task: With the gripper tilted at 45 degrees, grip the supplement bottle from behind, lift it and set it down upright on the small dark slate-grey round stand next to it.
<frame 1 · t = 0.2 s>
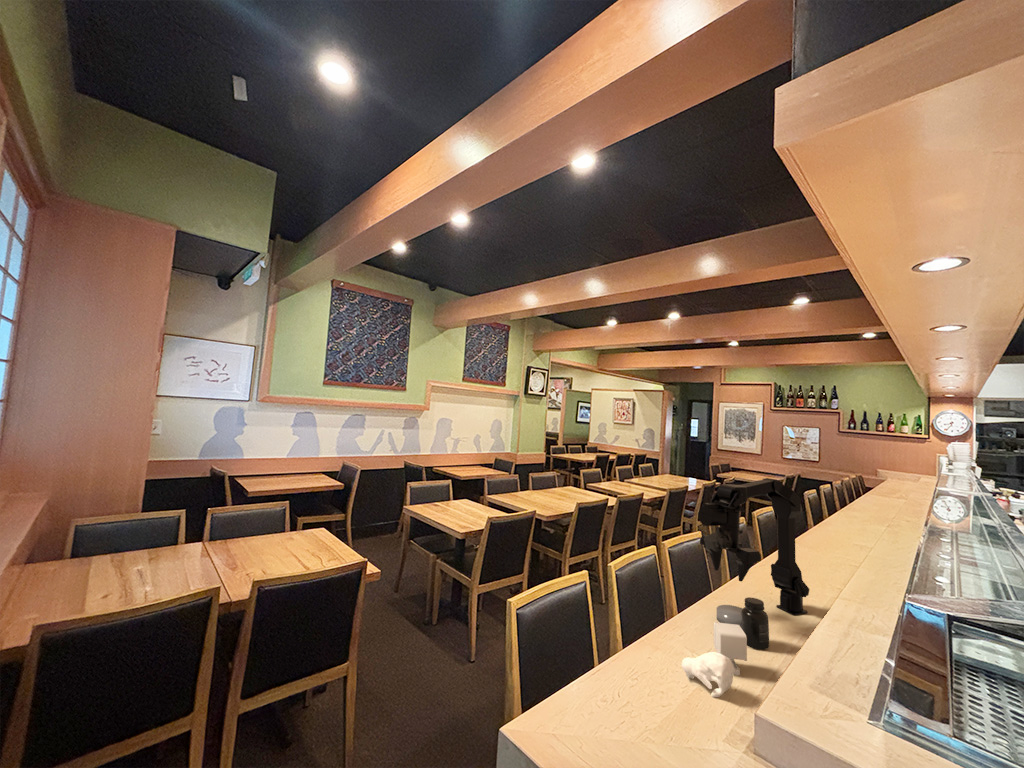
hand: (728, 575, 133), 14 cm above the worktop, tool pointing down, fingers open, 9 cm apart
white toy: (705, 686, 100), on the worktop
stand: (734, 621, 133), on the worktop
supplement bottle: (755, 644, 120), on the worktop
security camera: (728, 669, 108), on the worktop
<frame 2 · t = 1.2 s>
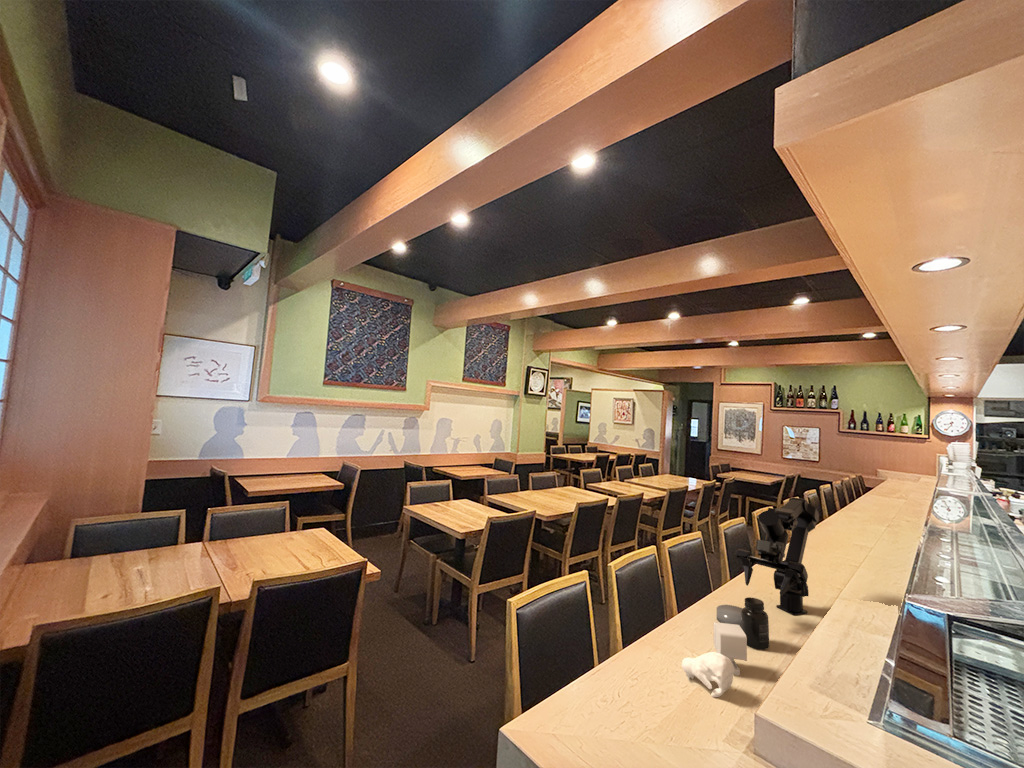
hand: (763, 589, 126), 13 cm above the worktop, tool tilted 45°, fingers open, 9 cm apart
nothing on the worktop moved.
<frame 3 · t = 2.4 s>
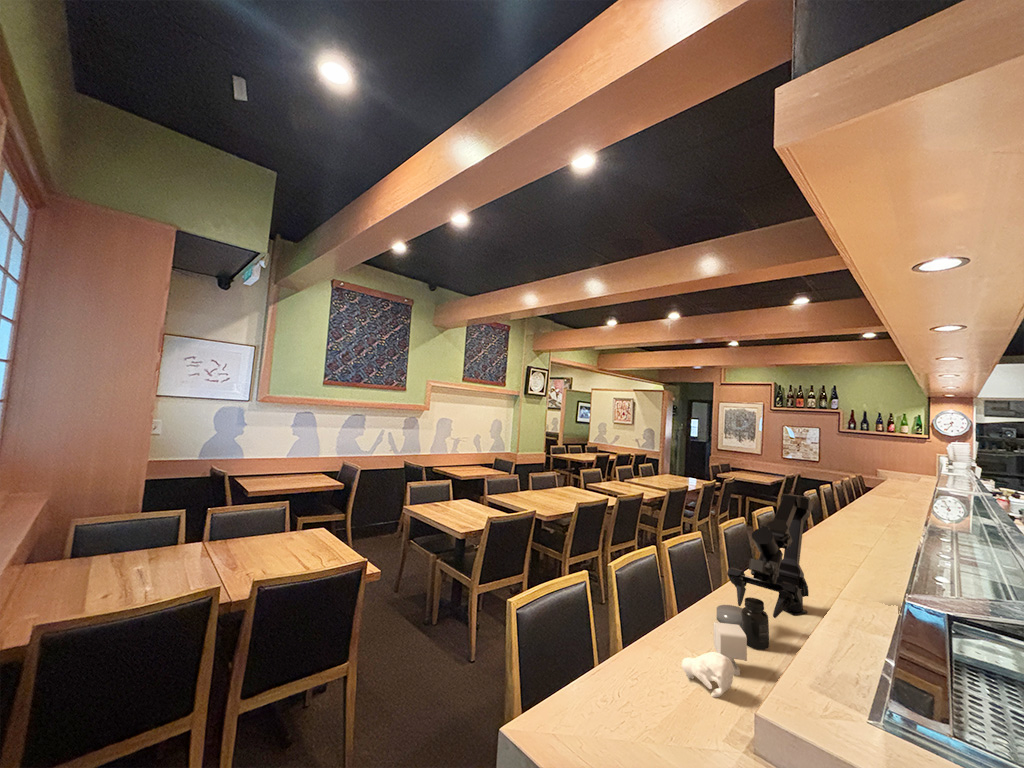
hand: (756, 611, 121), 9 cm above the worktop, tool tilted 45°, fingers open, 9 cm apart
nothing on the worktop moved.
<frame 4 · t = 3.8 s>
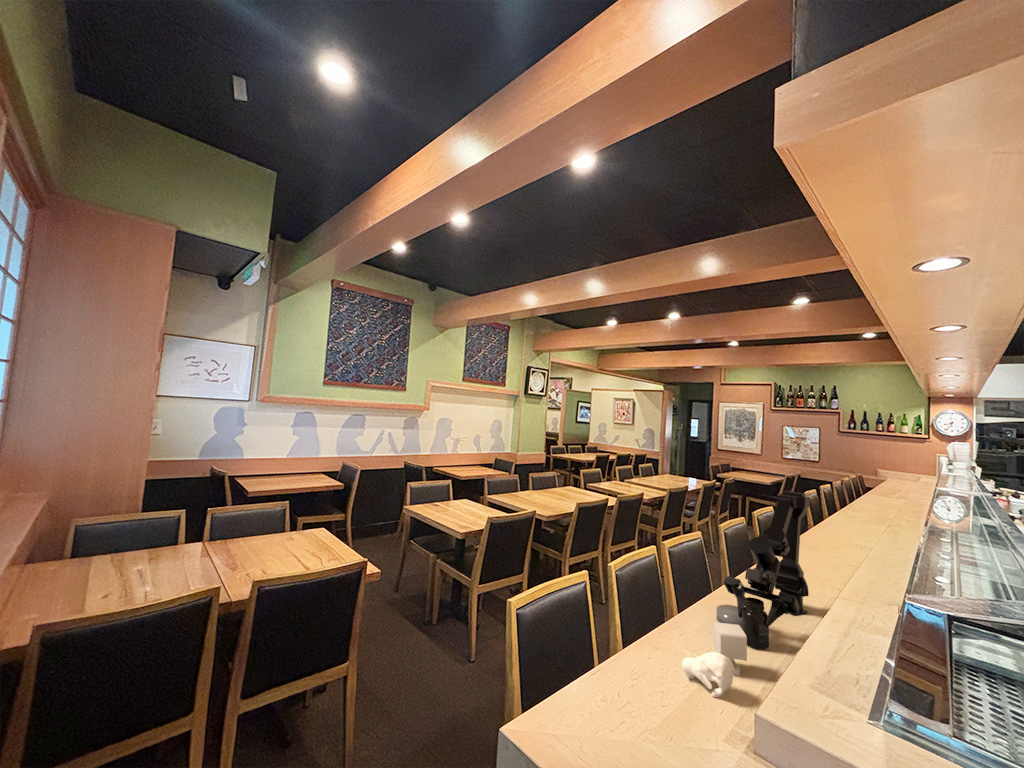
hand: (752, 621, 119), 7 cm above the worktop, tool tilted 45°, fingers closed on supplement bottle, 7 cm apart
supplement bottle: (755, 644, 120), on the worktop, touching gripper
everything else where it was.
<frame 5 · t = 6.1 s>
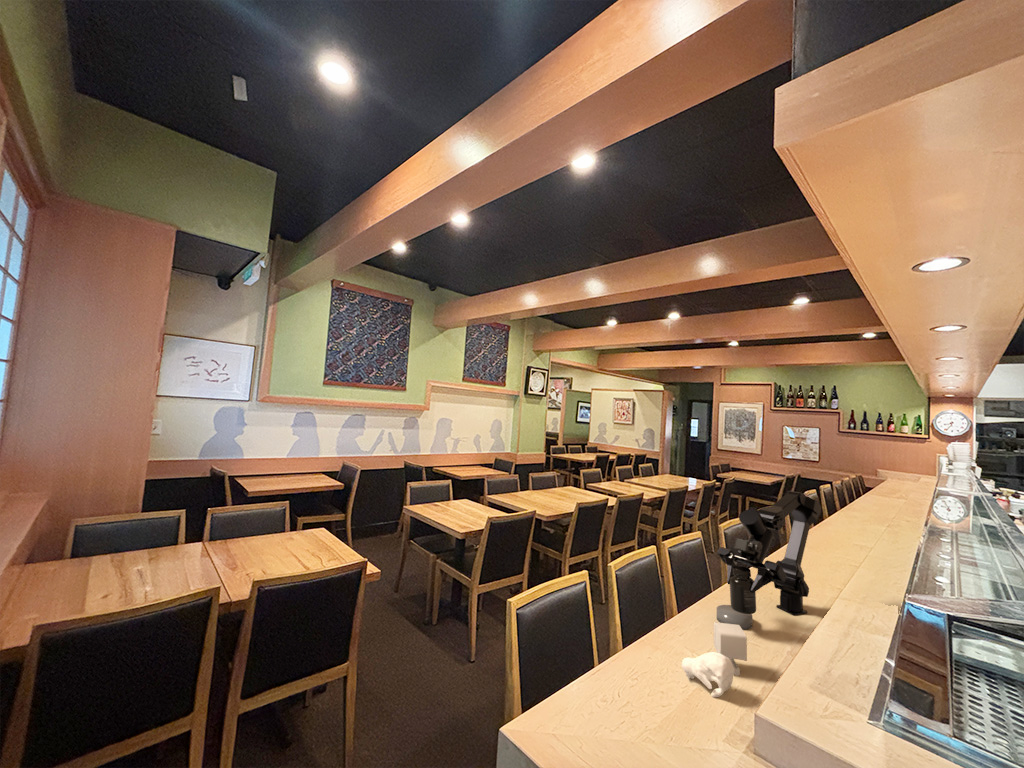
hand: (739, 587, 126), 13 cm above the worktop, tool tilted 45°, fingers closed on supplement bottle, 7 cm apart
supplement bottle: (743, 610, 127), point 6 cm above the worktop, touching gripper
everything else where it was.
when the fingers open (11 cm above the worktop, at t = 8.2 s): supplement bottle drops 1 cm, resting on stand.
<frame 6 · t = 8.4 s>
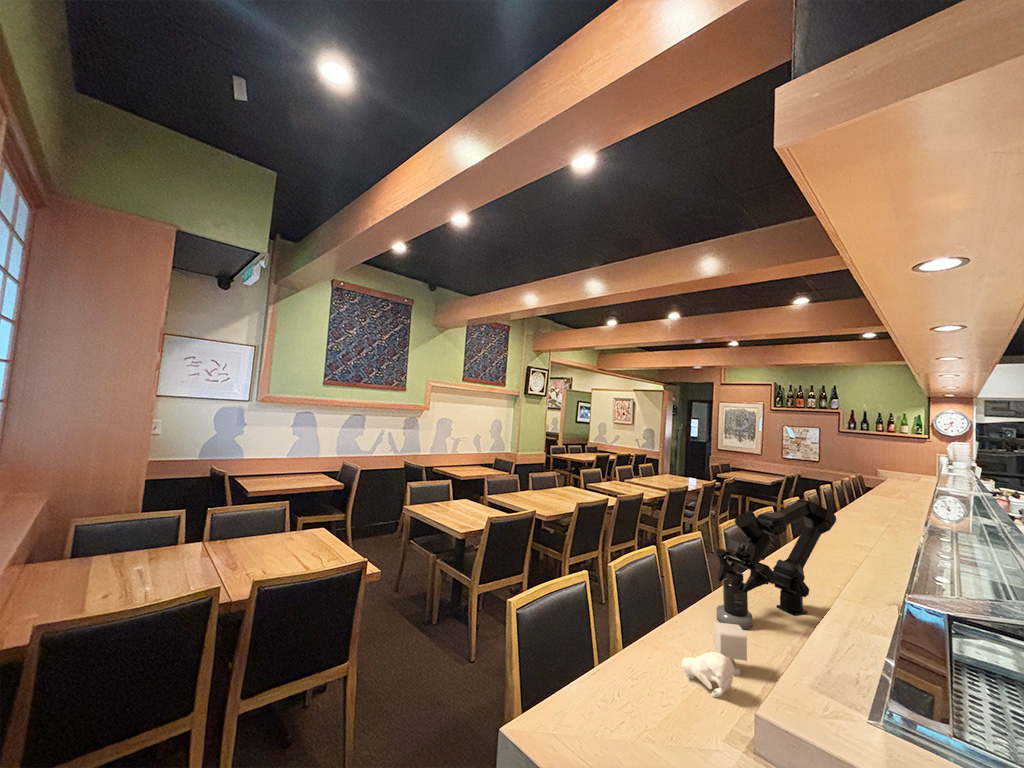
hand: (730, 586, 133), 11 cm above the worktop, tool tilted 45°, fingers open, 9 cm apart
supplement bottle: (735, 612, 133), point 3 cm above the worktop, touching stand
everything else where it was.
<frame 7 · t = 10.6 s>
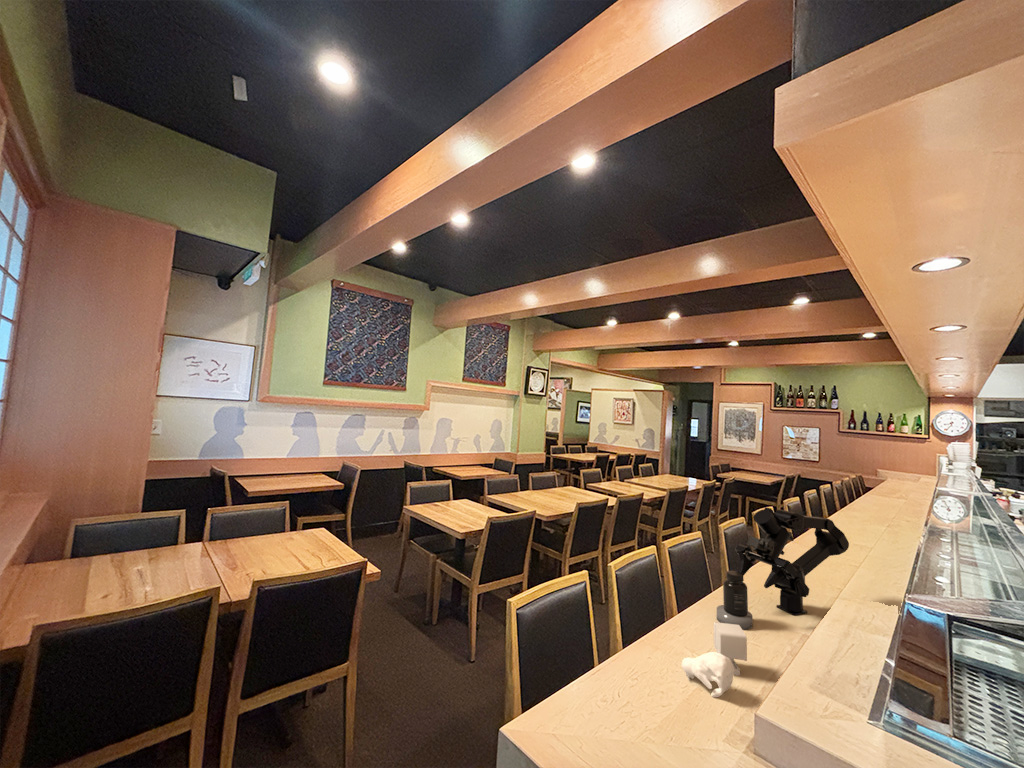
hand: (752, 581, 136), 11 cm above the worktop, tool tilted 40°, fingers open, 9 cm apart
nothing on the worktop moved.
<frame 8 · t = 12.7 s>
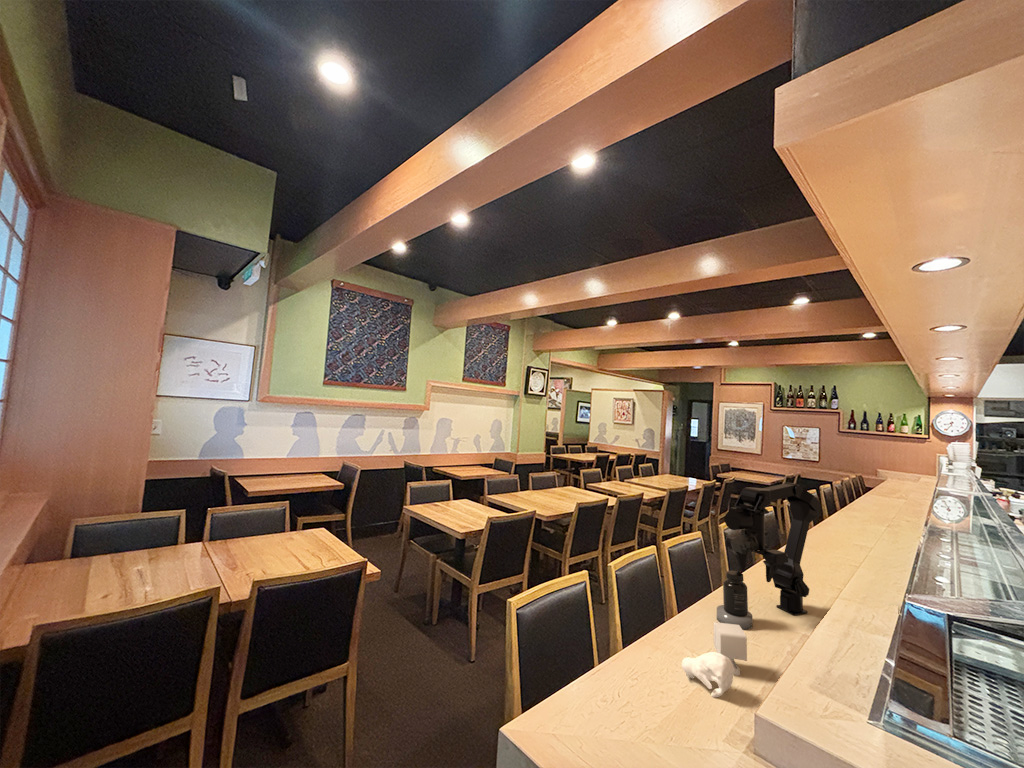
hand: (755, 576, 137), 13 cm above the worktop, tool pointing down, fingers open, 9 cm apart
nothing on the worktop moved.
at the end: supplement bottle 0.4 cm off-centre on the stand, point 2.8 cm above the stand's base; supplement bottle tilted 0°; the gripper is holding nothing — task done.
